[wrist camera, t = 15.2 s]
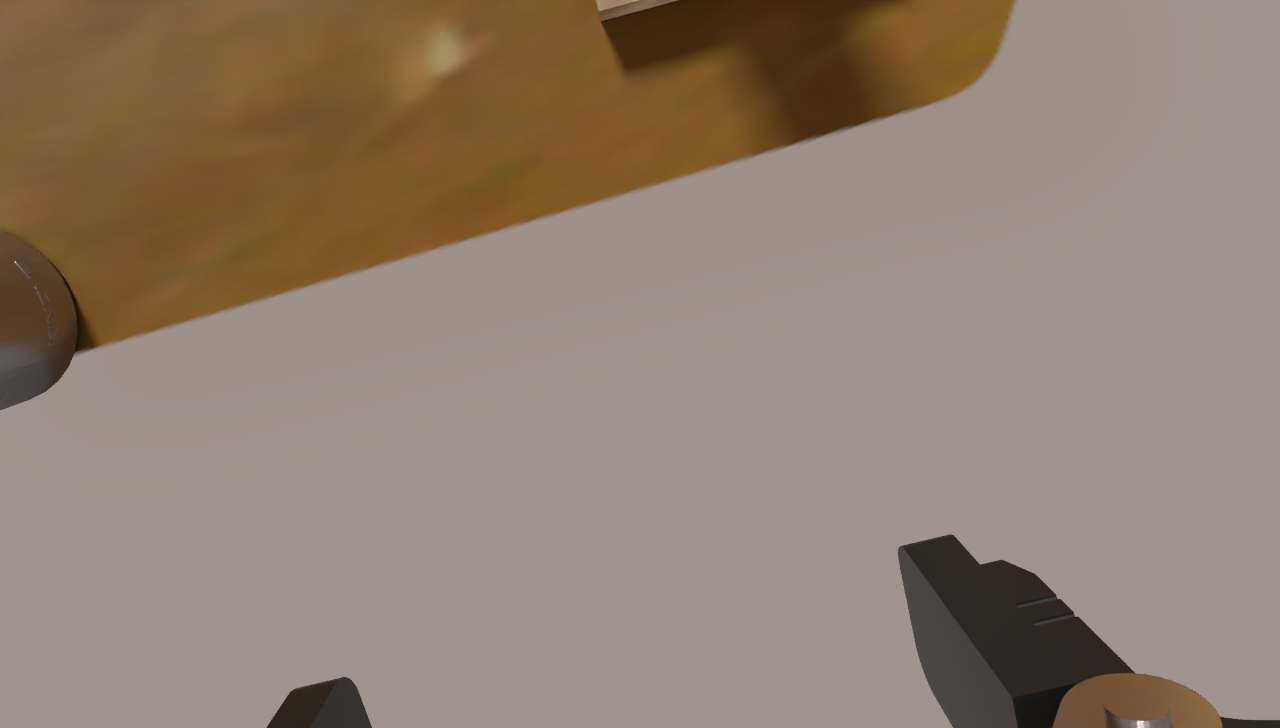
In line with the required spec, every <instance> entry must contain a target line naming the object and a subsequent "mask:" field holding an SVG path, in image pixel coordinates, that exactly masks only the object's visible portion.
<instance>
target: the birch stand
mask: <svg viewBox="0 0 1280 728" xmlns="http://www.w3.org/2000/svg"><path fill="white" fill-rule="evenodd" d="M674 1H678V0H596V4H597V8H598V12H599V16H600V20H601V21H604V20H608V19H611V18H615V17H619V16H622V15H626V14H630V13H633V12H637V11H641V10H645V9H648V8H652V7H656V6H659V5H663V4H667V3H670V2H674Z"/></svg>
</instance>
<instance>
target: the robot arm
mask: <svg viewBox="0 0 1280 728" xmlns="http://www.w3.org/2000/svg"><path fill="white" fill-rule="evenodd" d="M77 335H78V328H77V315H76V311H75V307H74V304H73V300H72V297H71V294H70V292H69V290H68V288H67V287H66V285H65V283H64V281H63V279H62V277H61V276H60V274H59V273H58V272H57V271H56V269H55V268H54V267H53V266H52V264H51V263H50V262H49V261H48V260H47V259H46V258H45V257H44V256H43V255H42V254H40V253H39V252H38V251H37V250H36V249H35V248H34V247H32V246H31V245H29V244H27V243H25V242H24V241H22V240H20V239H19V238H17V237H15V236H13V235H10V234H8V233H5V232H2V231H0V410H2V409H5V408H8V407H10V406H13V405H16V404H18V403H21V402H24V401H27V400H29V399H32V398H33V397H36V396H38V395H40V394H42V393H44V392H46V391H47V390H48V389H49V388H50V387H52V385H54V384H55V383H56V382H57V381H58V380H59V379H60V378H61V377H62V375H63V374H64V372H65V371H66V369H67V368H68V367H69V365H70V362H71V360H72V357H73V355H74V352H75V349H76V342H77ZM898 558H899V564H900V570H901V574H902V579H903V584H904V589H905V594H906V599H907V604H908V609H909V613H910V619H911V624H912V628H913V633H914V638H915V643H916V648H917V651H918V655H919V659H920V662H921V665H922V668H923V671H924V673H925V676H926V679H927V681H928V683H929V686H930V688H931V690H932V692H933V694H934V696H935V697H936V699H937V701H938V702H939V704H940V706H941V708H942V709H943V711H944V713H945V714H946V716H947V718H948V719H949V721H950V723H951V725H952V727H953V728H1280V720H1239V719H1232V718H1224V717H1220V716H1219V714H1218V713H1217V711H1216V710H1215V708H1214V707H1213V706H1212V705H1211V704H1210V703H1209V702H1208V701H1207V700H1206V699H1205V698H1204V697H1202V696H1201V695H1199V694H1198V693H1197V692H1195V691H1193V690H1192V689H1190V688H1188V687H1186V686H1184V685H1181V684H1179V683H1176V682H1174V681H1171V680H1168V679H1164V678H1161V677H1156V676H1151V675H1146V674H1136V673H1135V672H1134V671H1133V670H1131V669H1130V667H1128V666H1127V665H1126V663H1125V662H1124V661H1123V660H1122V659H1121V658H1120V657H1118V656H1117V655H1116V654H1115V653H1114V652H1113V651H1112V650H1111V649H1110V648H1109V647H1108V646H1107V645H1106V644H1105V643H1104V642H1103V641H1102V640H1101V639H1100V638H1099V637H1098V636H1097V635H1096V634H1095V633H1094V632H1093V631H1092V630H1091V629H1090V628H1089V627H1088V626H1087V625H1086V624H1085V623H1084V622H1083V621H1082V620H1081V619H1080V618H1079V617H1075V615H1074V612H1073V611H1072V610H1071V609H1070V608H1069V607H1068V606H1067V605H1066V604H1065V603H1064V602H1063V601H1062V600H1061V599H1057V597H1056V594H1055V593H1054V592H1053V591H1052V590H1051V589H1050V588H1049V587H1048V586H1047V585H1046V584H1045V583H1044V582H1043V581H1042V580H1041V579H1040V578H1039V577H1038V576H1037V575H1035V574H1034V573H1031V572H1029V571H1027V570H1025V569H1022V568H1020V567H1018V566H1015V565H1013V564H1011V563H1008V562H1006V561H1003V560H999V561H994V562H990V563H986V564H982V565H980V564H979V563H978V562H977V561H976V560H975V559H974V557H973V556H972V555H971V554H970V553H969V552H968V551H967V550H966V549H965V547H964V546H963V545H962V544H961V543H960V542H959V541H958V540H957V538H956V537H955V536H953V535H946V536H942V537H937V538H933V539H929V540H925V541H920V542H917V543H912V544H908V545H904V546H900V547H899V549H898ZM267 728H372V727H371V724H370V721H369V718H368V716H367V713H366V711H365V708H364V705H363V703H362V700H361V697H360V694H359V692H358V690H357V687H356V686H355V684H354V683H353V682H352V680H350V679H349V678H346V677H342V678H338V679H334V680H330V681H326V682H321V683H317V684H313V685H309V686H305V687H300V688H296V689H294V690H293V691H291V692H290V693H289V695H288V696H287V698H286V699H285V701H284V702H283V704H282V705H281V707H280V708H279V710H278V711H277V713H276V714H275V716H274V717H273V719H272V720H271V722H270V723H269V725H268V726H267Z"/></svg>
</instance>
